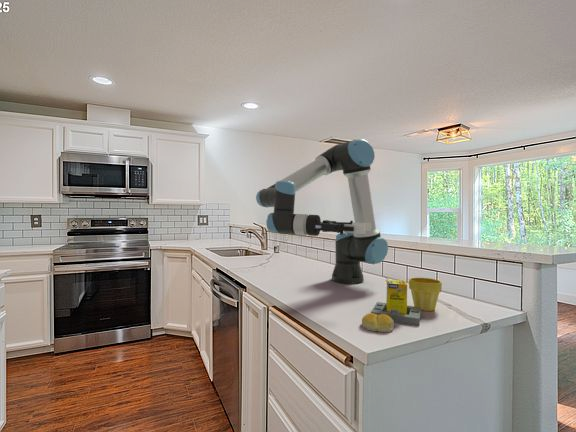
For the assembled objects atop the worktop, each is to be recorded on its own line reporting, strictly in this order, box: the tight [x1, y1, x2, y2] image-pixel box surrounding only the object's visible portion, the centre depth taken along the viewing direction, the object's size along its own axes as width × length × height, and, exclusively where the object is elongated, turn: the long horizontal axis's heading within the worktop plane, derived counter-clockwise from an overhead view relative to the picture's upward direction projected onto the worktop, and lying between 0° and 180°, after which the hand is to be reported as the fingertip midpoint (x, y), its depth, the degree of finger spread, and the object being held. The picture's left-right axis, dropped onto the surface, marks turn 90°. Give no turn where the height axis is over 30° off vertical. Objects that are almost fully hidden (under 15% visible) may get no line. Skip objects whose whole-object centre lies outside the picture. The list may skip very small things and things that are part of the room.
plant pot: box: [408, 276, 443, 312], centre depth 109 cm, size 10×10×10 cm
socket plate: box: [370, 301, 422, 326], centre depth 101 cm, size 12×14×2 cm
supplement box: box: [385, 279, 408, 315], centre depth 101 cm, size 6×6×11 cm
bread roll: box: [361, 312, 395, 333], centre depth 91 cm, size 8×9×4 cm
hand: (368, 228), depth 106 cm, fingers open, 13 cm apart
